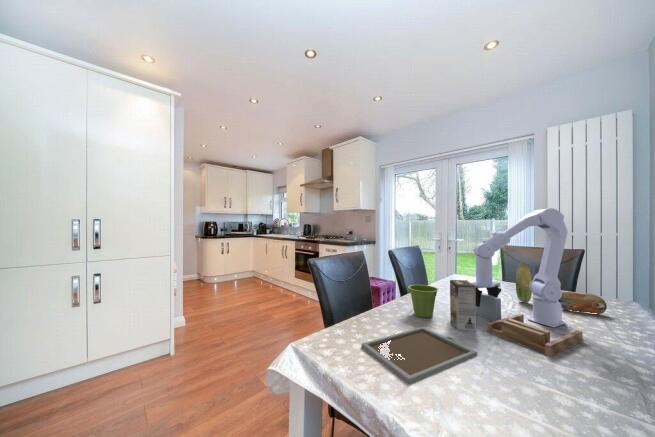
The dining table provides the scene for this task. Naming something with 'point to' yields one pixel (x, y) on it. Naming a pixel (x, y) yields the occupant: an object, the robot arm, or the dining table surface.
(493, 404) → the dining table surface
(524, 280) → the vegetable
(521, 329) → the offcut
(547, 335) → the offcut
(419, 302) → the plant pot
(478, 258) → the robot arm
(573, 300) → the tin
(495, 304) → the blue grey rectangular slab
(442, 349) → the picture frame
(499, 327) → the rack
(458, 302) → the coffee box
